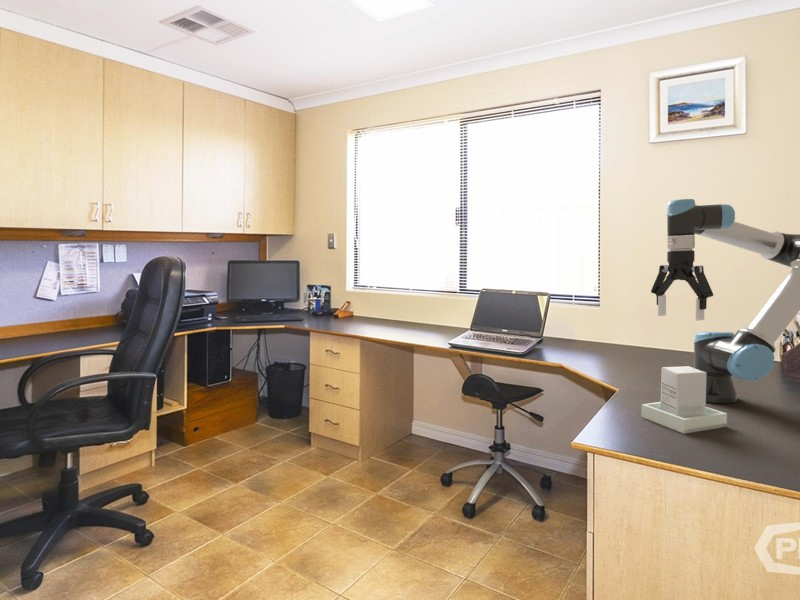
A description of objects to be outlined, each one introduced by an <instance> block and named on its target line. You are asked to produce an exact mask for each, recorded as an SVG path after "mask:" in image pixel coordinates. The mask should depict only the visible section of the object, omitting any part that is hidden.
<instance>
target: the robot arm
mask: <svg viewBox="0 0 800 600" xmlns="http://www.w3.org/2000/svg"><path fill="white" fill-rule="evenodd" d="M666 210H667V213H666V217H667V222H666V223H667V225H666V228H667V230H666V231H667V240H666V241H667V245H666V247H667V250H668V251H667V253H666V254H667V255H666V258H667V263H668V264H664V265H663V264H661V265H659V267H658V268H659V269H658V274H657V275H656V277H655V280H654V283H653V286H652V287H651V290H650V293H651V294H654V295H655V296H656V306H657V317H663V316H664V317H665V316H666V315H667V295H666V294H665V293H666V292H667V291H668V290H669V288H670V287H671V285H672V284H673V283H674V282H675V281H677V280H679V281H685V282H686V283H688V286H690V289H692V291H693V293H695V295H696V296H697V297H696V298H695V321H705V310H706V309H707V301H708V300H707V299H708V298H711V297H714V293H713V291H712V288H711V285H710V284H709V283H710V282H709V281H708V279H707V276H706V274H705V270H704V265H694V262H695V257H696V256H695V250H694V249H695V247H696V244H695V243H696V242H695V241H696V240H695V239H696V238H695V237H696V236H695V235H698V236H702V237H704V238H708V239H711V240H715V241H718V242H720V243H724V244H727V245H730V246H734V247H737V248H739V249H742V250H743V249H744V250H747V251H749V252H753V253H756V254H759V255H760V256H761V258H763V259H765V260H768V261H771V262H774V263H778V264H780V265H783V266H786V267H788V268H789V267H790V268H791V270H790V271H789V273H788V274H787V276H785V278H784V280H783V281H782V282H781V283H780V284H779V285H778V287H777V289H775V291H774V292H773V294H772V295H771V296H770V297H769V299H768V300H767V301H766V302H765V304H764V305H763V306H762V308H761V309H760V310H759V312H758V313H757V314H756V315H755V316H754V318H753V319H752V320H751V322H750V323H749V325H747V327H746V328H739V329H738V330H737V331H736V332H735V333H734V332H730V331H701V332H697V333H695V336H694V342H693V346H694V347H693V349H694V350H693V368H695V369H698V370H700V371H704V372H706V373H707V375H706V403H712V404H733V403H736V402H737V401H738V392H737V390H736V386H735V383H734V379H733V377H735V378H737V379H740V380H746V381H757V380H761V379H763V378H765V377H766V376H768V374H769V373H770V372H771V371H772V370H773V368H774V365H775V362H774V361H775V355H774V353H775V352H776V346H775V343H776V342H777V340H778V339H780V337H781V335H782V334H783V333H784V331H785V330H786V329H787V328H788V326H789V325H790V324H791V322H792V321H793V320H794V319H795V317H796V316H797V315H798V313H799V312H800V234H798V233H795V234H794V233H793V234H792V233H791V234H790V233H784V232H780V231H772V232H769V231H766V230H762V229H760V228H756V227H753V226H750V225H746V224H744V223H740V222H738V221H736V212H735V209H734V207H733V206H732V205H731V204H726V203H725V204H722V203H719V204H704V205H701V204H700V205H698V204H696V200H695V199H693V198H683V199H682V198H681V199H673V200H670V201H669V202H668V204H667V209H666Z"/></svg>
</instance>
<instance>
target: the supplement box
mask: <svg viewBox="0 0 800 600" xmlns="http://www.w3.org/2000/svg"><path fill="white" fill-rule="evenodd" d="M660 372H661V376H660V377H661V380H660V381H661V382H660V402H661V406H660V410H662V411H665V412H668V413H671V414H673V415H676V416H679V417H682V418H690V417H697V416H704V415H705V407H707V406H706V404H707V402H706V375H707V373H706V372H704V371H700V370H698V369H695V368H694V367H692V366H689V365H686V366H685V365H684V366H683V365H682V366H663V367H661V371H660Z"/></svg>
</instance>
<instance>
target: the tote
mask: <svg viewBox="0 0 800 600" xmlns="http://www.w3.org/2000/svg"><path fill="white" fill-rule="evenodd" d="M660 406H661V401H658V402H657V401H656V402H651V403H650V402H649V403H643V404H641V409H640V411H641V414H640V417H641V418H643V419H645V420H648V421H651V422H654V423H655V424H659V425H660V426H664V427H666V428H668V429H671V430H674V431H676V432H679V433H681V434H690V433H697V432H703V431H710V430H714V429H720V428H721V429H723V428H727V421H728V413H726V412H724V411H721V410H717V409H714V408H712V407H707V406H706V407H705V415H704V416H697V417H690V418H682V417H679V416H676V415H673V414H671V413H668V412H665V411H662V410H660Z"/></svg>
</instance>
